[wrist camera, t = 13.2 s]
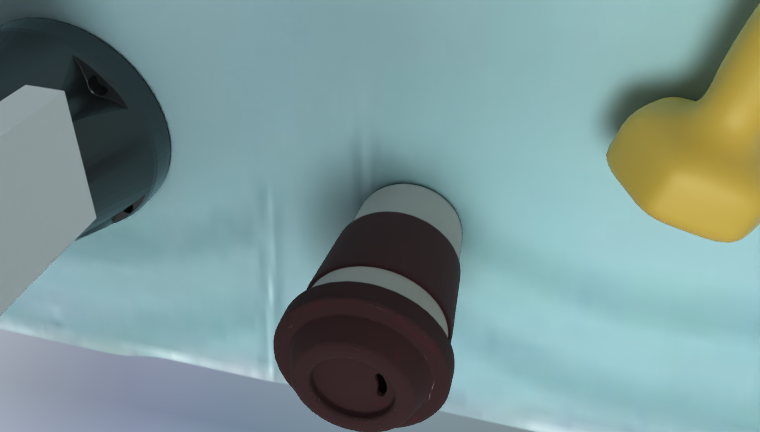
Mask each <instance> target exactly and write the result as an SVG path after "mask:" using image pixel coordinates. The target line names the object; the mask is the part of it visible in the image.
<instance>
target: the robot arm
mask: <svg viewBox="0 0 760 432" xmlns="http://www.w3.org/2000/svg"><path fill="white" fill-rule="evenodd" d="M169 163H170V140H169V134H168V129H167V126H166V122H165V119H164V117H163V114H162V112H161V109H160V107H159V105H158V103H157V101H156V99H155V98H154V96H153V94H152V92H151V91H150V89H149V88H148V86H147V85H146V83H145V82H144V81H143V79H142V78H141V77H140V76H139V74H138V73H137V72H136V71H135V70H134V69H133V68H132V66H131V65H130V64H129V63H128V62H127V61H126V60H125V59H124V58H123V57H121V56H120V55H119V54H118V53H117V52H116V51H114V50H113V49H112V48H111V47H109V46H108V45H107V44H105V43H104V42H102V41H101V40H99V39H98V38H96V37H94V36H93V35H91V34H89V33H87V32H85V31H83V30H81V29H79V28H77V27H74V26H72V25H69V24H66V23H63V22H59V21H55V20H50V19H43V18H25V19H19V20H15V21H12V22H9V23H7V24H4V25H3V26H1V27H0V315H1V314H2V313H3V312H4V311H5V310H6V309H7V308H8V307H9V306H10V305H11V304H12V303H13V302H14V301H15V300H16V299H17V298H18V297H19V296H20V295H21V294H22V293H23V292H24V291H25V290H26V289H27V288H28V287H29V286H30V285H31V284H32V283H33V282H34V281H35V280H36V279H37V278H38V277H39V276H40V275H41V274H42V273H43V272H44V271H45V270H46V269H47V268H48V267H49V266H50V265H51V264H52V263H53V262H54V261H55V260H56V259H57V257H58V256H59V255H60V254H61V253H62V252H63V251H64V250H65V249H66V248H67V247H68V246H69V245H70V244H71V243H72V242H74V241H76V240H78V239H80V238H83V237H85V236H87V235H89V234H92V233H94V232H96V231H98V230H101V229H103V228H105V227H107V226H109V225H111V224H113V223H116V222H118V221H121V220H123V219H125V218H127V217H129V216H131V215H132V214H134V213H135V212H136V211H138V210H139V209H140V208H141V207H142V206H143V205H144V204H145V203H146V202H147V201H148V200H149V199H150V198H151V197H152V195H153V194H154V193H155V192H156V191H157V190H158V189H159V187H160V186H161V185H162V183H163V181H164V179H165V177H166V174H167V171H168V168H169Z"/></svg>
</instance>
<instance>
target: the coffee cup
mask: <svg viewBox="0 0 760 432" xmlns="http://www.w3.org/2000/svg"><path fill="white" fill-rule="evenodd" d="M461 243H462V227H461V224H460V220H459V218H458V216H457V214H456V212H455V210H454V209H453V208H452V206H451V205H450V204H449V203H448V202H447V201H446V200H445V199H444V198H443V197H441V196H440V195H438V194H437V193H435V192H433V191H431V190H429V189H427V188H424V187H421V186H417V185H412V184H395V185H390V186H386V187H384V188H381V189H379V190H377V191H376V192H374V193H373V194H372V195H370V196H369V197H368V198H367V199H366V201H365V202H364V203H363V205H362V206H361V208H360V210H359V211H358V213H357V215H356V216H355V218H354V219H353V221H352V222H351V223H350V224H349V225H348V226H347V227H346V228H345V229H344V230H343V231H342V233H341V234H340V236H339V237H338V239H337V241H336V242H335V244H334V245H333V247H332V249H331V250H330V252H329V253H328V255H327V257H326V258H325V260H324V261H323V263H322V265H321V266H320V268H319V269H318V271H317V273H316V274H315V276H314V277H313V279H312V281H311V282H310V284H309V286H308V288H307V290H306V291H304V292H303V293H301V294H300V295H298V296H297V297H296V298H295V299H294V300H293V301H292V302H291V303H290V305H289V306H288V308H287V309H286V311H285V313H284V315H283V316H282V318H281V320H280V322H279V324H278V326H277V329H276V332H275V335H274V354H275V359H276V362H277V364H278V367H279V369H280V371H281V373H282V374H283V376H284V378H285V379H286V381H287V382H288V383H289V385H290V386H291V387H292V388H293V389H294V390H295V392H296V393H297V395H298V396H299V397H300V399H301V400H302V402H303V403H304V404H305V405H306V406H307V407H308V408H309V409H311V411H312V412H314V413H315V414H317V415H318V416H320V417H321V418H323V419H324V420H326V421H328V422H330V423H332V424H334V425H337V426H340V427H342V428H346V429H350V430H355V431H359V432H381V431H387V430H390V429H393V428H399V427H405V426H410V425H413V424H416V423H419V422H422V421H424V420H426V419H427V418H429V417H430V416H432V415H433V414H434V413H436V412H437V411H438V410H439V409H440V408H441V407H442V405H443V404H444V403H445V401H446V399H447V397H448V395H449V391H450V387H451V383H452V378H453V374H454V353H453V349H452V346H451V339H452V334H453V327H454V319H455V312H456V304H457V297H458V289H459V282H460V263H459V257H460V250H461Z"/></svg>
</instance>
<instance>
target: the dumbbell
mask: <svg viewBox="0 0 760 432" xmlns="http://www.w3.org/2000/svg"><path fill="white" fill-rule="evenodd" d="M606 157H607V162H608V165H609V167H610V169H611V171H612V173H613V174H614V176H615V177H616V178H617V180H618V181H619V182H620V183H621V185H622V186H623V187H624V189H625V190H626V191H627V193H628V194H629V195H630V196H631V198H632V199H633V200H634V201H635V203H636V204H637V205H638V206H639V207H640V208H641V209H642V210H643V211H645V212H646V213H647V214H648V215H650V216H651V217H653V218H654V219H656V220H658V221H660V222H662V223H665V224H667V225H670V226H672V227H675V228H678V229H680V230H683V231H686V232H689V233H691V234H694V235H697V236H700V237H703V238H706V239H710V240H713V241H718V242H735V241H738V240H740V239H742V238H744V237H745V236H747V235H748V234H749V233H750V232H751V231H752V230H754V229H755V228H756V227H757V226H758V225H759V224H760V3H759V4H758V5H757V7H756V8H755V10H754V11H753V13H752V14H751V16H750V17H749V19H748V20H747V22H746V23H745V25H744V26H743V28H742V29H741V31H740V33H739V34H738V36H737V38H736V39H735V41H734V43H733V44H732V46H731V48H730V49H729V51H728V53H727V54H726V56H725V58H724V60H723V61H722V63H721V65H720V67H719V69H718V71H717V73H716V75H715V77H714V79H713V81H712V83H711V85H710V87H709V88H708V90H707V92H706V93H705V94H704V95H703V97H702V98H700V99H699V100H698V101H693V100H689V99H685V98H680V97H665V98H662V99H659V100H656V101H654V102H651V103H649V104H647V105H645V106H643V107H641V108H640V109H638V110H636V111H635V112H634V113H633V114H632V115H630V116H629V117H628V118H627V119H626V121H625V122H624V123H623V124H622V126H621V127H620V129H619V130H618V132H617V134H616V135H615V137H614V139H613V141H612V142H611V144H610V146H609V148H608V151H607V154H606Z"/></svg>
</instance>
